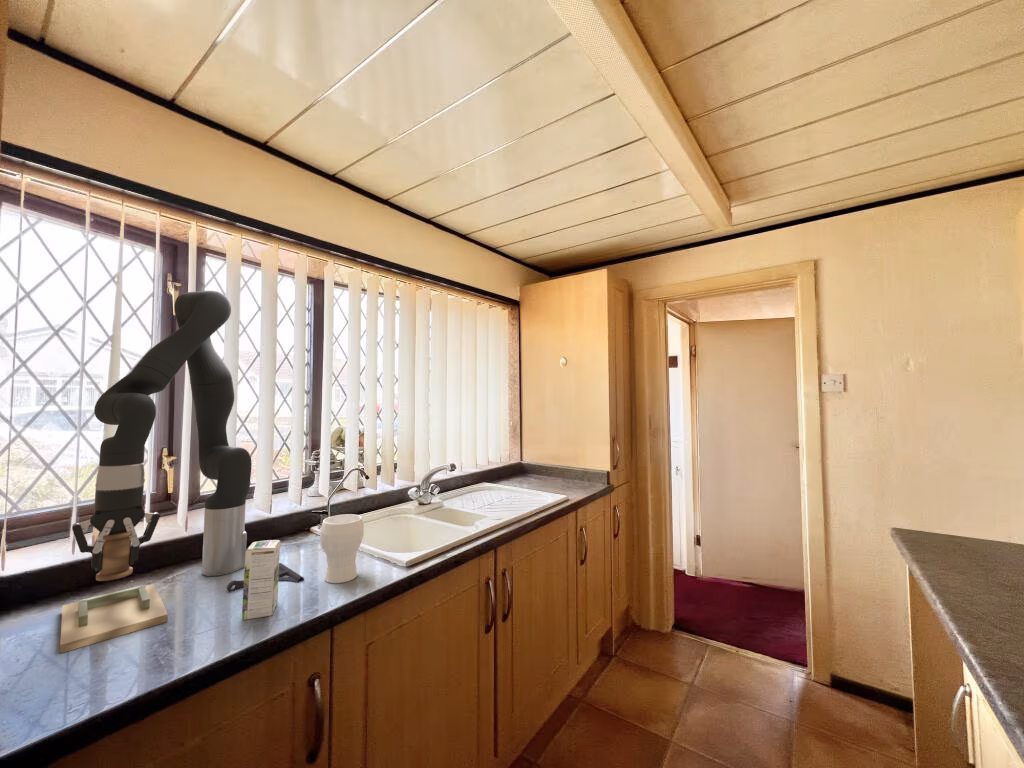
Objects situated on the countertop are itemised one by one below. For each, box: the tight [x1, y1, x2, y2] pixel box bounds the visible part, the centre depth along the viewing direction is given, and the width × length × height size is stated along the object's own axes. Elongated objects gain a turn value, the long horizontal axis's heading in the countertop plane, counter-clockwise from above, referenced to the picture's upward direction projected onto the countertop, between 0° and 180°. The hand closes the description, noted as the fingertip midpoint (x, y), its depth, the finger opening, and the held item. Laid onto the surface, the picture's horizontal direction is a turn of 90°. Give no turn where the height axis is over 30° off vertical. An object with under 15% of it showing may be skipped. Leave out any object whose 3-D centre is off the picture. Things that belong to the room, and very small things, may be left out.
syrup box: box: [241, 539, 281, 621], centre depth 89 cm, size 6×6×14 cm
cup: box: [319, 513, 365, 584], centre depth 107 cm, size 11×11×15 cm
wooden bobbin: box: [95, 531, 134, 582], centre depth 87 cm, size 6×6×9 cm
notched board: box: [59, 583, 169, 654], centre depth 87 cm, size 15×21×4 cm
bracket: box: [226, 562, 305, 593], centre depth 104 cm, size 14×15×3 cm
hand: (114, 566), depth 87 cm, fingers closed on wooden bobbin, 4 cm apart
